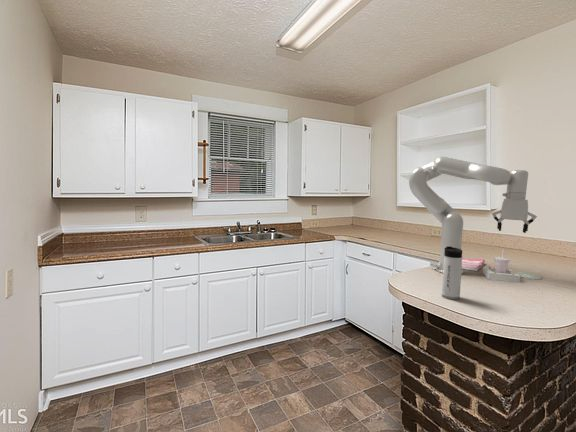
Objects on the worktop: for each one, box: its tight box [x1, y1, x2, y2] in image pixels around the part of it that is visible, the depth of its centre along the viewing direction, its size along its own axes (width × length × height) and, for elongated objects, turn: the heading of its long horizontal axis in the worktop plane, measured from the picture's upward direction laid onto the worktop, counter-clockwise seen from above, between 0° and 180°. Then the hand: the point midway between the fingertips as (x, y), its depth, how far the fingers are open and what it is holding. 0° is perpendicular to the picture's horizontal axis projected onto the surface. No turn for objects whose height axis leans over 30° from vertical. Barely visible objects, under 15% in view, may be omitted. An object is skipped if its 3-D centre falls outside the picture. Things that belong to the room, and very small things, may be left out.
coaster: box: [516, 272, 543, 280], centre depth 149 cm, size 10×10×1 cm
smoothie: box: [493, 249, 510, 274], centre depth 147 cm, size 6×6×14 cm
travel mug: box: [441, 246, 463, 301], centre depth 118 cm, size 6×7×20 cm
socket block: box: [482, 266, 521, 283], centre depth 147 cm, size 12×12×4 cm
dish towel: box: [461, 257, 486, 272], centre depth 172 cm, size 17×23×4 cm
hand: (511, 231), depth 144 cm, fingers open, 9 cm apart
